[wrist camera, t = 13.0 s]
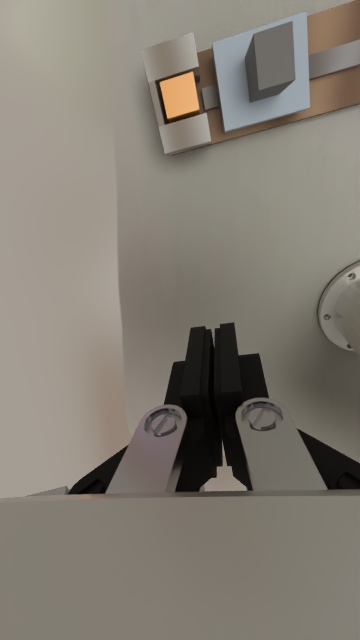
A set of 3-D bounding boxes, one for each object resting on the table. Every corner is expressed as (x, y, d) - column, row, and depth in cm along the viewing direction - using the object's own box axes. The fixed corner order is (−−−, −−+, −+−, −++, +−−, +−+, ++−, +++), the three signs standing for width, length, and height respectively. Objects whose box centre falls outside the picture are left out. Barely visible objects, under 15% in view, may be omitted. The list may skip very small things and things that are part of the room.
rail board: (428, -23, 24) (497, -80, 18) (417, 87, 27) (473, 68, 22) (153, 68, 28) (139, 45, 22) (172, 155, 31) (164, 153, 26)
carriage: (299, 22, 24) (331, -27, 18) (303, 111, 26) (332, 95, 20) (211, 51, 25) (213, 15, 19) (224, 133, 28) (228, 125, 22)
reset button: (194, 83, 26) (192, 71, 23) (200, 115, 27) (199, 109, 24) (165, 92, 26) (159, 82, 23) (172, 123, 27) (167, 118, 24)
